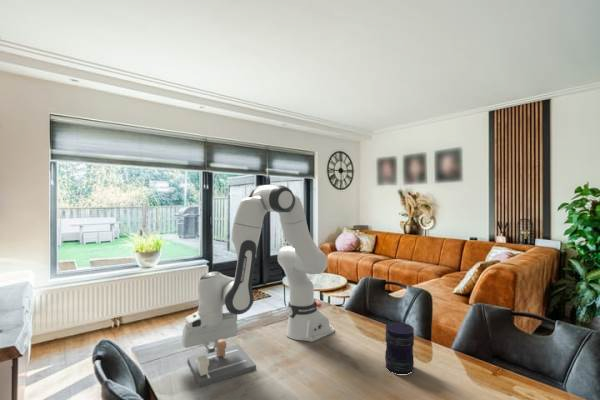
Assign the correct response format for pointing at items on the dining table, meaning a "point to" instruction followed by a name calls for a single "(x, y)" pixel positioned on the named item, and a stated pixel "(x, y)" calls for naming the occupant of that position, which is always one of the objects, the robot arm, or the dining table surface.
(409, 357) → the storage jar
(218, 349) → the terracotta fader
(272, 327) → the dining table surface
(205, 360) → the cream fader
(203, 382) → the console
